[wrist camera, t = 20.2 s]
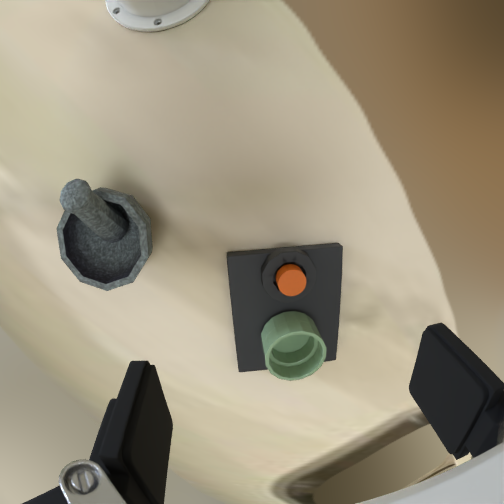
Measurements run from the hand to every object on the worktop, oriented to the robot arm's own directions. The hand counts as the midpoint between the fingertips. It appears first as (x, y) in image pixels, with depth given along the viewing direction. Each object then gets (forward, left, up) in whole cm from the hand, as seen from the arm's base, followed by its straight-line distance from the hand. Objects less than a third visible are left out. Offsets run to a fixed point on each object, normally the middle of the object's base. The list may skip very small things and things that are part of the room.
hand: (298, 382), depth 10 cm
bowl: (+15, +4, -25) cm, 29 cm away
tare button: (+6, +4, -24) cm, 25 cm away
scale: (+12, +4, -26) cm, 29 cm away
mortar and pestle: (-1, -14, -26) cm, 30 cm away
